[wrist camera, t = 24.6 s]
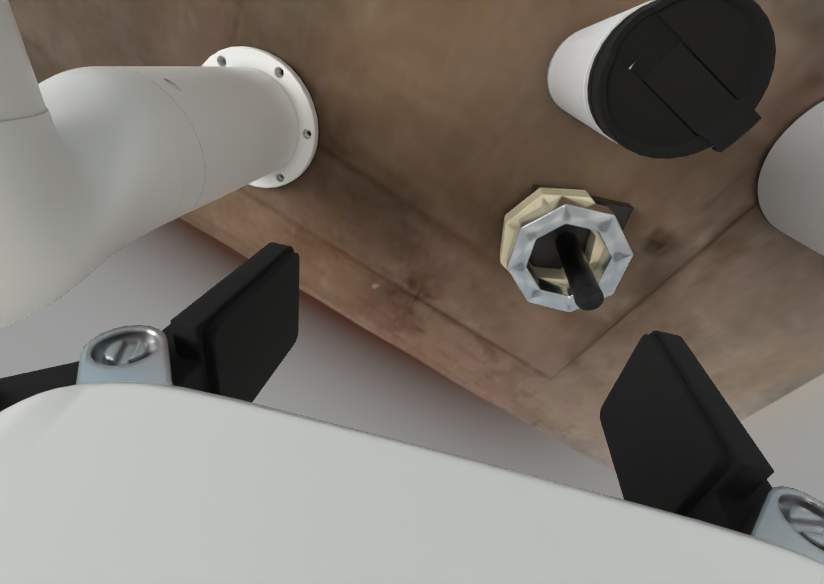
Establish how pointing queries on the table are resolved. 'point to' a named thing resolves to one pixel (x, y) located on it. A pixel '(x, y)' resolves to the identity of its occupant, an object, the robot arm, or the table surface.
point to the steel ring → (552, 218)
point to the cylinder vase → (797, 181)
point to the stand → (575, 254)
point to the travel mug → (668, 75)
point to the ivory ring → (534, 203)
